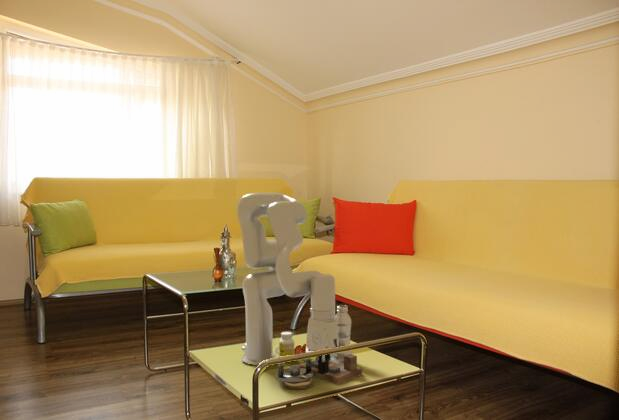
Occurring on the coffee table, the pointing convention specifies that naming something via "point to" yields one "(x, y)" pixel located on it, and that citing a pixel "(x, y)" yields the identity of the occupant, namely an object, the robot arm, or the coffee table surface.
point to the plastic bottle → (343, 330)
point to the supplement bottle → (286, 344)
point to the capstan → (296, 376)
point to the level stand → (337, 369)
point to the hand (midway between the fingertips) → (323, 372)
